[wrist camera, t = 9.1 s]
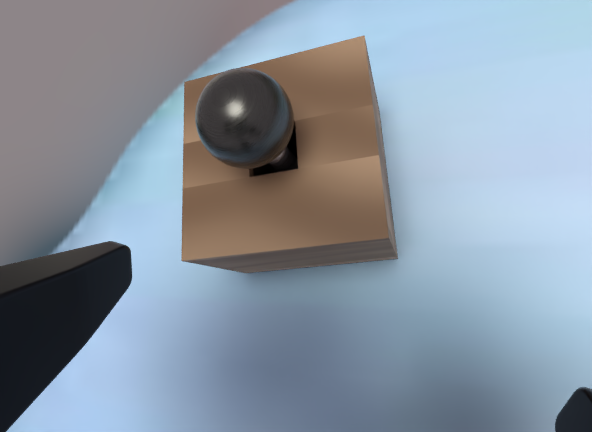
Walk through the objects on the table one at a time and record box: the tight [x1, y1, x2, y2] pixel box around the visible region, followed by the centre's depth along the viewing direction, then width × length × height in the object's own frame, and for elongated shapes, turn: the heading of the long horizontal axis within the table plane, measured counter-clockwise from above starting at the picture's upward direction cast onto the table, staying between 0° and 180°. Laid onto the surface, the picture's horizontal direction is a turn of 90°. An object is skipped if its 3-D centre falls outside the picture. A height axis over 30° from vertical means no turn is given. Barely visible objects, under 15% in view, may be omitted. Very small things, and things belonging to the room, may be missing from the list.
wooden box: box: [182, 36, 398, 273], centre depth 18 cm, size 8×8×6 cm
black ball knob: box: [195, 68, 298, 176], centre depth 15 cm, size 6×6×9 cm
